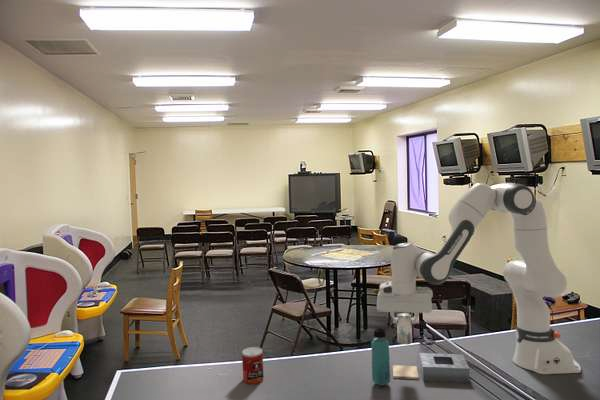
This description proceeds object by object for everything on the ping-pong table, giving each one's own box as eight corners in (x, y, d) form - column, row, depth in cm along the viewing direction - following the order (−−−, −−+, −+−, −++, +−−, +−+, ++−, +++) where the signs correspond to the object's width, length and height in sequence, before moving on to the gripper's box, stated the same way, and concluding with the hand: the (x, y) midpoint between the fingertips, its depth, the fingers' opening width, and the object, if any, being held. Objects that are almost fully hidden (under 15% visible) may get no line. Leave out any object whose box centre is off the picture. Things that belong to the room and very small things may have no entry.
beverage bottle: (386, 390, 150) (385, 334, 149) (368, 386, 153) (367, 331, 152) (393, 382, 155) (392, 328, 154) (375, 378, 159) (374, 325, 158)
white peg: (411, 339, 164) (410, 313, 163) (412, 344, 159) (411, 317, 158) (397, 338, 165) (396, 313, 164) (397, 344, 160) (397, 317, 159)
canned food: (247, 386, 156) (246, 357, 156) (240, 377, 164) (238, 349, 163) (267, 381, 160) (265, 352, 159) (259, 373, 167) (257, 345, 166)
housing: (463, 367, 166) (462, 354, 165) (469, 382, 154) (469, 368, 154) (419, 365, 168) (419, 353, 168) (423, 380, 157) (422, 366, 156)
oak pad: (416, 368, 166) (416, 366, 166) (418, 379, 157) (418, 377, 157) (392, 367, 168) (392, 365, 168) (393, 378, 159) (393, 375, 159)
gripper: (431, 284, 162) (432, 321, 163) (376, 284, 166) (376, 319, 166) (433, 289, 156) (434, 327, 157) (376, 288, 159) (376, 325, 160)
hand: (404, 323), depth 162 cm, fingers closed on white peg, 5 cm apart
